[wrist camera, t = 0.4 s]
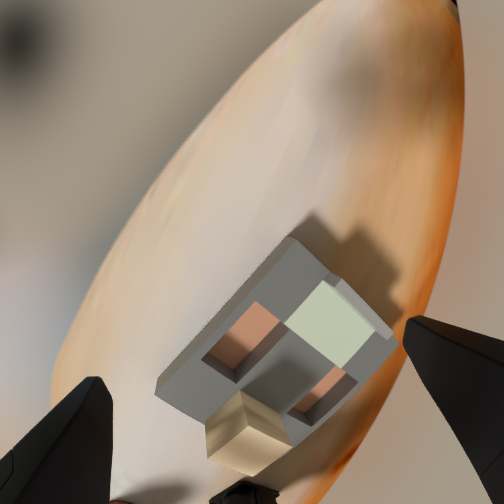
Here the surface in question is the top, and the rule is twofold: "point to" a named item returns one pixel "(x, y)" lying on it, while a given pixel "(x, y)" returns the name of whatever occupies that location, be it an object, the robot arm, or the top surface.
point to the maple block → (245, 435)
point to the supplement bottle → (119, 503)
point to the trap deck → (282, 346)
